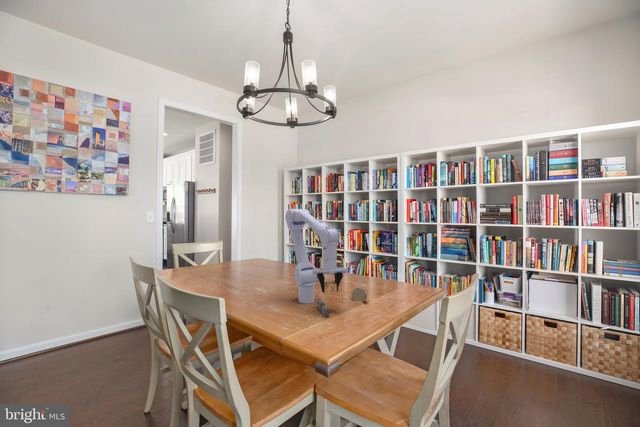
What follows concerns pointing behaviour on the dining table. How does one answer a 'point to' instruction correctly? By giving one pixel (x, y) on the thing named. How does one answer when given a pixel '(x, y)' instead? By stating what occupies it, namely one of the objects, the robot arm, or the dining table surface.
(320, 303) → the stand
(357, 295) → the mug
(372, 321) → the dining table surface
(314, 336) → the dining table surface
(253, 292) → the dining table surface
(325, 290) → the u-shaped block
